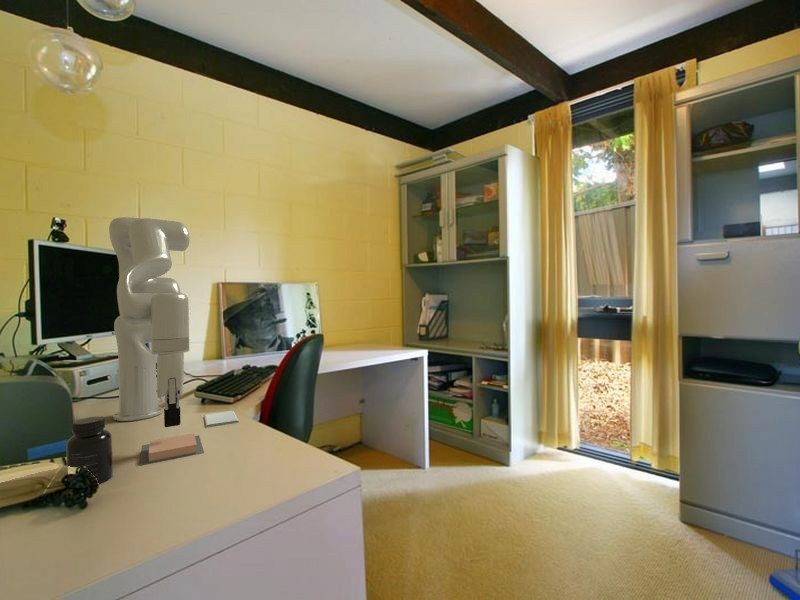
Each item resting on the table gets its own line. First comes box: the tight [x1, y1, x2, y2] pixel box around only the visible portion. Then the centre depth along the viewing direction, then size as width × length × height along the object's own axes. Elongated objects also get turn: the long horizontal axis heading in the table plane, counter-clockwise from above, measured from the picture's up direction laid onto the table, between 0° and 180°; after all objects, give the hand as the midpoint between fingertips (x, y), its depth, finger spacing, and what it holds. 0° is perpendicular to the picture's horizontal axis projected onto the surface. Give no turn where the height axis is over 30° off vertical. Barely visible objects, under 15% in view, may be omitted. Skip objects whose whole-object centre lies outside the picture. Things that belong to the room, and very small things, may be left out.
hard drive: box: [203, 410, 239, 428], centre depth 113 cm, size 2×8×12 cm
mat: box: [139, 434, 205, 467], centre depth 90 cm, size 14×12×1 cm
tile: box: [148, 432, 197, 462], centre depth 88 cm, size 2×9×9 cm
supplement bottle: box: [65, 416, 114, 485], centre depth 74 cm, size 7×7×12 cm
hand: (172, 425), depth 90 cm, fingers closed
